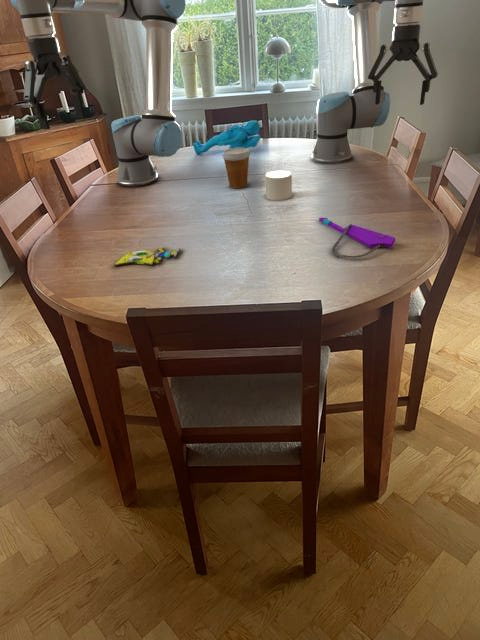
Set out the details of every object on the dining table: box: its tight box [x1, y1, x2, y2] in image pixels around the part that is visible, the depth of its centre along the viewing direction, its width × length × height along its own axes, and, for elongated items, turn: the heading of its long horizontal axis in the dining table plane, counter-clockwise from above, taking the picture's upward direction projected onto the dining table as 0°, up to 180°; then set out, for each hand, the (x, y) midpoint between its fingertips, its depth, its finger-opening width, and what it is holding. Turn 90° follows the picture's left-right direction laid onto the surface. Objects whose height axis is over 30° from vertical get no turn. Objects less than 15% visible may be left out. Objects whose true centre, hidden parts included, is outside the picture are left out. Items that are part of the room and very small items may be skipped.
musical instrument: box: [318, 217, 396, 259], centre depth 123 cm, size 24×2×20 cm
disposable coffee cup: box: [222, 148, 251, 189], centre depth 166 cm, size 10×10×12 cm
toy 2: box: [114, 247, 181, 267], centre depth 124 cm, size 10×1×15 cm
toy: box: [192, 120, 261, 155], centre depth 208 cm, size 17×11×30 cm
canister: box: [264, 169, 293, 201], centre depth 156 cm, size 8×8×7 cm
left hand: (64, 123), depth 136 cm, fingers open, 13 cm apart
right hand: (399, 104), depth 150 cm, fingers open, 13 cm apart
